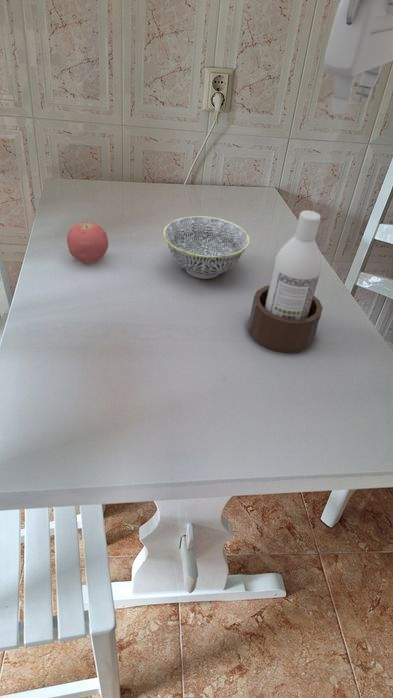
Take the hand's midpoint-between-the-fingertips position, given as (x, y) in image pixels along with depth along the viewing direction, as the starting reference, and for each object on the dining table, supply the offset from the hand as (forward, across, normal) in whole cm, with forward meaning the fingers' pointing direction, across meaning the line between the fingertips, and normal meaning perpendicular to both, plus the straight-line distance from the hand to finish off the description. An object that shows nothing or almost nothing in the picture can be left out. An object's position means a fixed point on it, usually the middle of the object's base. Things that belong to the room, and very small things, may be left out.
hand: (350, 107), depth 63 cm
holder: (+34, -5, 0) cm, 34 cm away
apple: (+34, -8, +40) cm, 53 cm away
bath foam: (+33, -5, 0) cm, 34 cm away
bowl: (+34, +4, +21) cm, 40 cm away
